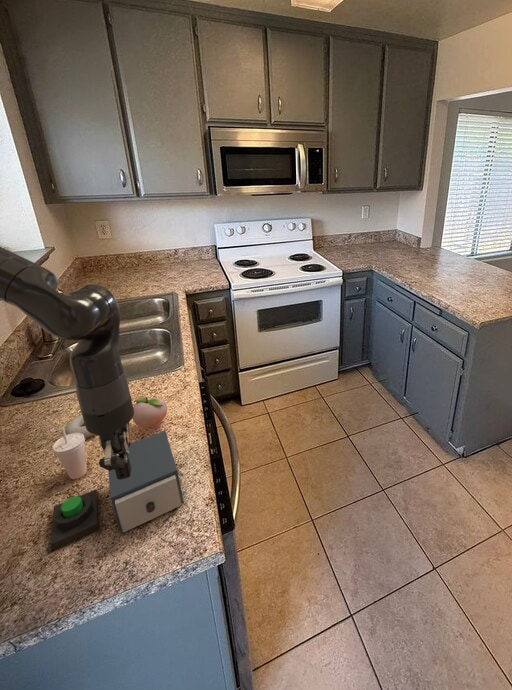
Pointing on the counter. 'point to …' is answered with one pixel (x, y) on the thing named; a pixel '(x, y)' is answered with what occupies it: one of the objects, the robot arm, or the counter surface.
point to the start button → (72, 506)
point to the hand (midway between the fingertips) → (124, 475)
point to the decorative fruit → (149, 411)
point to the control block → (75, 521)
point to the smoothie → (71, 453)
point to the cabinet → (145, 467)
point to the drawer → (148, 503)
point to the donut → (78, 427)
